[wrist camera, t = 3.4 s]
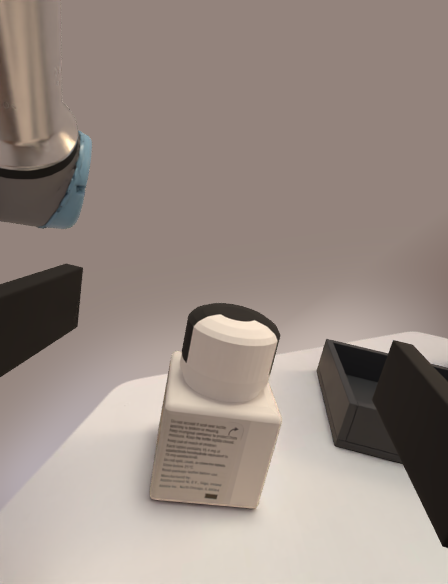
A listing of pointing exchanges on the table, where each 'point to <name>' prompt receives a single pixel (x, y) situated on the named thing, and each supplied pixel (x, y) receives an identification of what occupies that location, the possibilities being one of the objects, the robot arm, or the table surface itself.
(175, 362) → the container
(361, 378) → the tub
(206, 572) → the table surface
